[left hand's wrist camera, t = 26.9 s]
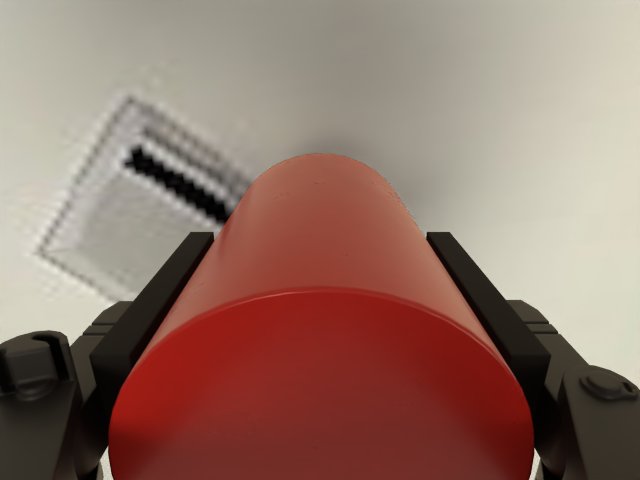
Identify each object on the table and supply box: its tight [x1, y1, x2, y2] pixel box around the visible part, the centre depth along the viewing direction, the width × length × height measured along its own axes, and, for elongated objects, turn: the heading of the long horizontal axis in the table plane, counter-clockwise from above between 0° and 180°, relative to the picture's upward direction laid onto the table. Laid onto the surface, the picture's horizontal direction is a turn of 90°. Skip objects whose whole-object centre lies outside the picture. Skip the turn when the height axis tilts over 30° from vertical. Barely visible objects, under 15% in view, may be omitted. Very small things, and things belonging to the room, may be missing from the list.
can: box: [108, 154, 534, 480], centre depth 12 cm, size 7×7×10 cm
